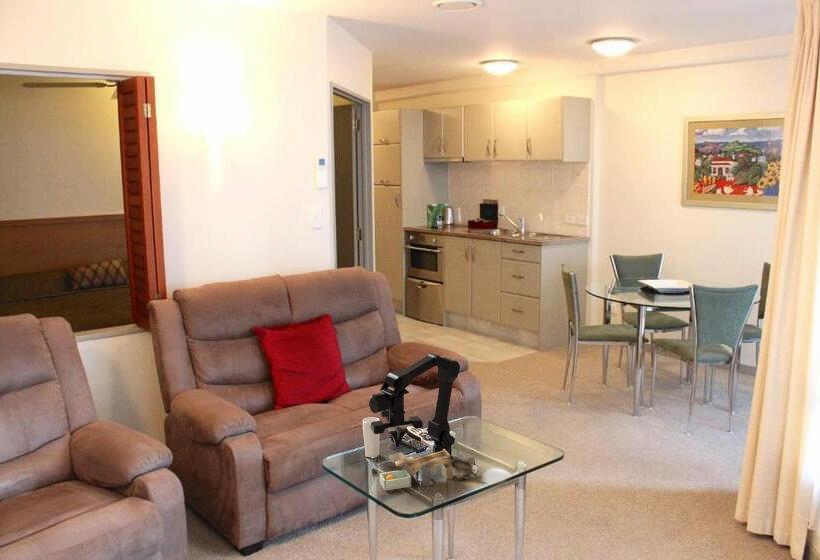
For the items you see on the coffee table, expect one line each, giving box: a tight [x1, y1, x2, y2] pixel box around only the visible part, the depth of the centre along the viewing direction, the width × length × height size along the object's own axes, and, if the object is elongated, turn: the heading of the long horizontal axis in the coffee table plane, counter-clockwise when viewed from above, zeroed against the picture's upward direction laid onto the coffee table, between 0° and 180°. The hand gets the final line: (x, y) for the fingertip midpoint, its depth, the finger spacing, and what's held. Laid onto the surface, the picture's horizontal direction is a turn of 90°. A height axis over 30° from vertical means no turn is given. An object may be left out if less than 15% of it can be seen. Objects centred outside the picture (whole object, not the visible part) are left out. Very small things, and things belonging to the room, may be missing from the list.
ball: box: [386, 475, 394, 480], centre depth 263 cm, size 3×3×3 cm
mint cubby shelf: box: [378, 469, 412, 492], centre depth 264 cm, size 10×7×4 cm
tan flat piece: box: [388, 449, 452, 474], centre depth 269 cm, size 20×14×3 cm
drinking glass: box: [362, 416, 381, 459], centre depth 286 cm, size 7×7×15 cm
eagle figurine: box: [450, 458, 479, 481], centre depth 269 cm, size 8×7×9 cm
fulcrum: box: [412, 456, 454, 488], centre depth 268 cm, size 13×9×7 cm
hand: (397, 446), depth 271 cm, fingers closed
